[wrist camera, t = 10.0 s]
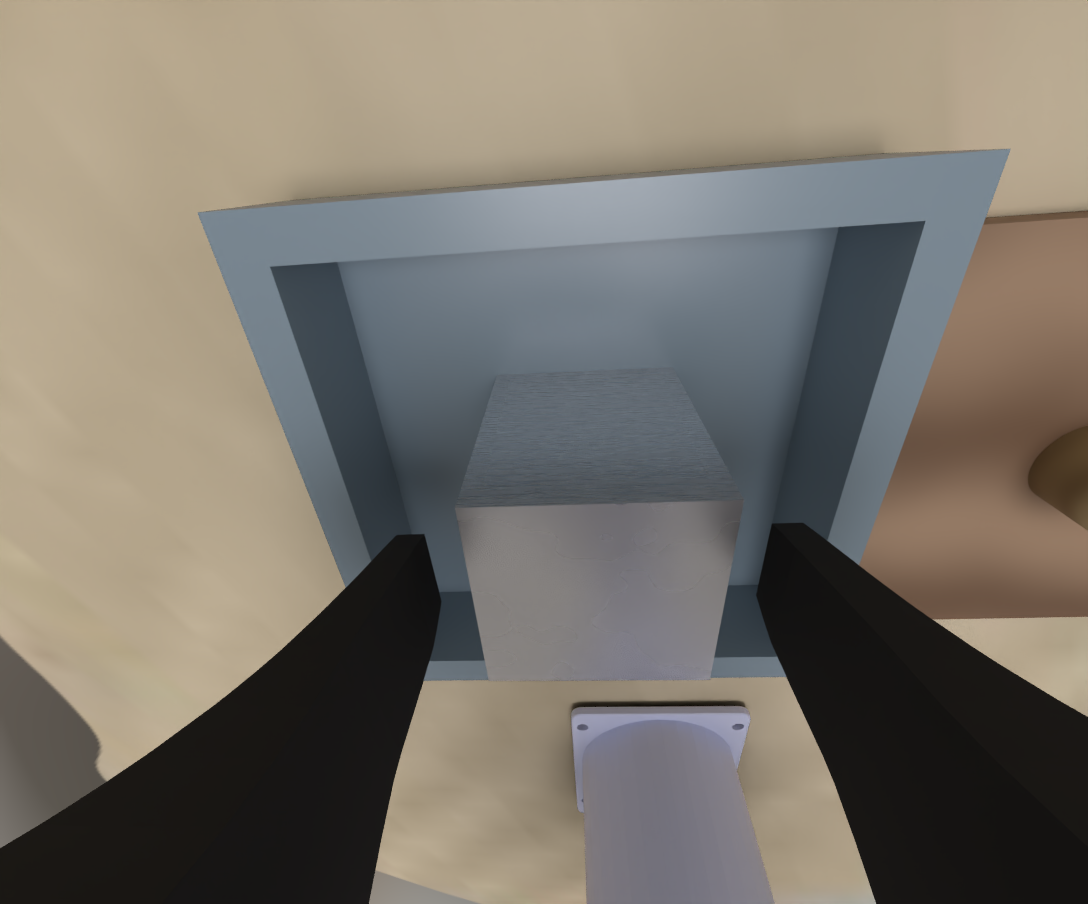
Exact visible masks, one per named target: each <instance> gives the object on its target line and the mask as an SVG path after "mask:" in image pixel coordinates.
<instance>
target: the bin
mask: <svg viewBox="0 0 1088 904" xmlns="http://www.w3.org/2000/svg"><path fill="white" fill-rule="evenodd" d="M1009 152H1010V149H992V150H964V151H935V152H907V153H883V154H870V155H858V156H845V157H833V158H820V159H807V160H795V161H782V162H769V163H757V164H744V165H731V166H719V167H706V168H693V169H681V170H668V171H656V172H643V173H630V174H618V175H605V176H592V177H580V178H567V179H554V180H542V181H529V182H517V183H504V184H491V185H479V186H466V187H453V188H441V189H428V190H415V191H403V192H390V193H378V194H365V195H352V196H340V197H327V198H314V199H302V200H290V201H282V202H275V203H267V204H259V205H252V206H244V207H237V208H229V209H221V210H214V211H206V212H198V215H199V218H200V220H201V223H202V225H203V228H204V230H205V233H206V235H207V238H208V240H209V243H210V245H211V248H212V251H213V253H214V256H215V258H216V261H217V263H218V266H219V268H220V271H221V273H222V276H223V278H224V281H225V283H226V286H227V288H228V291H229V293H230V296H231V299H232V301H233V304H234V306H235V309H236V311H237V314H238V316H239V319H240V321H241V324H242V326H243V329H244V331H245V334H246V336H247V339H248V341H249V344H250V347H251V349H252V352H253V354H254V357H255V359H256V362H257V364H258V367H259V369H260V372H261V374H262V377H263V379H264V382H265V384H266V387H267V390H268V392H269V395H270V397H271V400H272V402H273V405H274V407H275V410H276V412H277V415H278V417H279V420H280V422H281V425H282V427H283V430H284V432H285V435H286V438H287V440H288V443H289V445H290V448H291V450H292V453H293V455H294V458H295V460H296V463H297V465H298V468H299V470H300V473H301V475H302V478H303V480H304V483H305V486H306V488H307V491H308V493H309V496H310V498H311V501H312V503H313V506H314V508H315V511H316V513H317V516H318V518H319V521H320V523H321V526H322V528H323V531H324V534H325V536H326V539H327V541H328V544H329V546H330V549H331V551H332V554H333V556H334V559H335V561H336V564H337V566H338V569H339V571H340V574H341V577H342V579H343V582H344V584H345V587H347V586H348V585H349V584H350V583H351V582H352V581H353V580H354V579H355V578H356V577H357V576H358V575H359V574H360V572H361V571H362V570H363V569H364V568H365V567H366V566H367V565H368V564H369V563H370V562H371V561H372V560H373V559H374V558H375V557H376V556H377V555H378V554H379V553H380V551H381V550H382V549H383V548H384V547H385V546H386V545H387V544H388V543H389V542H390V541H391V540H392V539H393V538H394V537H395V536H396V535H407V534H425V538H426V542H427V546H428V550H429V554H430V558H431V562H432V566H433V569H434V573H435V577H436V581H437V585H438V589H439V593H440V597H441V601H442V602H441V608H440V614H439V620H438V626H437V632H436V637H435V642H434V647H433V651H432V654H431V658H430V661H429V664H428V668H427V671H426V674H425V677H424V681H431V680H489V679H488V674H487V669H486V664H485V659H484V654H483V649H482V644H481V639H480V633H479V628H478V623H477V618H476V613H475V608H474V603H473V598H472V593H471V587H470V582H469V577H468V572H467V567H466V562H465V557H464V552H463V547H462V541H461V536H460V531H459V526H458V521H457V516H456V511H455V506H456V503H457V500H458V497H459V494H460V491H461V487H462V484H463V481H464V478H465V475H466V472H467V468H468V465H469V462H470V459H471V456H472V453H473V449H474V446H475V443H476V440H477V437H478V434H479V430H480V427H481V424H482V421H483V418H484V415H485V411H486V408H487V405H488V402H489V399H490V396H491V393H492V389H493V386H494V383H495V380H496V377H497V375H507V374H529V373H552V372H575V371H597V370H620V369H643V368H665V367H673V369H674V371H675V373H676V374H677V376H678V378H679V380H680V382H681V384H682V386H683V387H684V389H685V391H686V393H687V395H688V397H689V399H690V400H691V402H692V404H693V406H694V408H695V410H696V412H697V413H698V415H699V417H700V419H701V421H702V423H703V425H704V426H705V428H706V430H707V432H708V434H709V436H710V438H711V439H712V441H713V443H714V445H715V447H716V449H717V451H718V452H719V454H720V456H721V458H722V460H723V462H724V464H725V466H726V467H727V469H728V471H729V473H730V475H731V477H732V479H733V480H734V482H735V484H736V486H737V488H738V490H739V492H740V493H741V495H742V497H743V499H744V504H743V509H742V514H741V519H740V525H739V530H738V535H737V540H736V546H735V551H734V556H733V561H732V566H731V572H730V577H729V582H728V587H727V593H726V598H725V603H724V608H723V614H722V619H721V624H720V629H719V634H718V640H717V645H716V650H715V655H714V661H713V666H712V671H711V676H710V678H725V677H786V675H785V673H784V670H783V668H782V666H781V664H780V662H779V659H778V657H777V655H776V653H775V650H774V648H773V646H772V644H771V641H770V638H769V635H768V632H767V629H766V626H765V623H764V620H763V617H762V613H761V610H760V607H759V603H758V600H757V597H756V593H757V588H758V584H759V579H760V575H761V570H762V566H763V561H764V557H765V552H766V547H767V543H768V538H769V534H770V529H771V525H772V523H804V524H806V525H807V526H808V527H810V528H811V529H813V530H814V531H815V532H817V533H818V534H819V535H821V536H822V537H823V538H824V539H826V540H827V541H828V542H830V543H831V544H832V545H833V546H835V547H836V548H837V549H839V550H840V551H841V552H842V553H844V554H845V555H846V556H848V557H849V558H850V559H852V560H853V561H854V562H855V563H857V564H858V565H859V564H860V561H861V558H862V556H863V553H864V550H865V548H866V545H867V542H868V539H869V537H870V534H871V531H872V528H873V526H874V523H875V520H876V517H877V515H878V512H879V509H880V506H881V504H882V501H883V498H884V495H885V493H886V490H887V487H888V484H889V482H890V479H891V476H892V473H893V471H894V468H895V465H896V462H897V460H898V457H899V454H900V451H901V449H902V446H903V443H904V440H905V438H906V435H907V432H908V429H909V427H910V424H911V421H912V418H913V416H914V413H915V410H916V407H917V405H918V402H919V399H920V396H921V394H922V391H923V388H924V386H925V383H926V380H927V377H928V375H929V372H930V369H931V366H932V364H933V361H934V358H935V355H936V353H937V350H938V347H939V344H940V342H941V339H942V336H943V333H944V331H945V328H946V325H947V322H948V320H949V317H950V314H951V311H952V309H953V306H954V303H955V300H956V298H957V295H958V292H959V289H960V287H961V284H962V281H963V278H964V276H965V273H966V270H967V267H968V265H969V262H970V259H971V256H972V254H973V251H974V248H975V245H976V243H977V240H978V237H979V234H980V232H981V229H982V226H983V224H984V221H985V218H986V215H987V213H988V210H989V207H990V204H991V202H992V199H993V196H994V193H995V191H996V188H997V185H998V182H999V180H1000V177H1001V174H1002V171H1003V169H1004V166H1005V163H1006V160H1007V158H1008V155H1009Z"/></svg>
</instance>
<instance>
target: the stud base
mask: <svg viewBox="0 0 1088 904" xmlns="http://www.w3.org/2000/svg"><path fill="white" fill-rule="evenodd" d="M859 566H861V567H862V568H863V569H864V570H866V571H867V572H868V573H870V574H871V575H872V576H874V577H875V578H876V579H878V580H879V581H880V582H882V583H883V584H884V585H886V586H887V587H888V588H890V589H891V590H892V591H894V592H895V593H896V594H898V595H899V596H900V597H902V598H903V599H904V600H906V601H907V602H909V603H910V604H911V605H913V606H914V607H915V608H917V609H918V610H920V611H921V612H922V613H924V614H925V615H927V616H928V617H929V618H931V619H980V618H1037V617H1088V211H1077V212H1063V213H1048V214H1034V215H1020V216H1005V217H991V218H985V221H984V224H983V226H982V229H981V232H980V234H979V237H978V240H977V243H976V245H975V248H974V251H973V254H972V256H971V259H970V262H969V265H968V267H967V270H966V273H965V276H964V278H963V281H962V284H961V287H960V289H959V292H958V295H957V298H956V300H955V303H954V306H953V309H952V311H951V314H950V317H949V320H948V322H947V325H946V328H945V331H944V333H943V336H942V339H941V342H940V344H939V347H938V350H937V353H936V355H935V358H934V361H933V364H932V366H931V369H930V372H929V375H928V377H927V380H926V383H925V386H924V388H923V391H922V394H921V396H920V399H919V402H918V405H917V407H916V410H915V413H914V416H913V418H912V421H911V424H910V427H909V429H908V432H907V435H906V438H905V440H904V443H903V446H902V449H901V451H900V454H899V457H898V460H897V462H896V465H895V468H894V471H893V473H892V476H891V479H890V482H889V484H888V487H887V490H886V493H885V495H884V498H883V501H882V504H881V506H880V509H879V512H878V515H877V517H876V520H875V523H874V526H873V528H872V531H871V534H870V537H869V539H868V542H867V545H866V548H865V550H864V553H863V556H862V558H861V561H860V564H859Z"/></svg>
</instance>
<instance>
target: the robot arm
mask: <svg viewBox="0 0 1088 904" xmlns="http://www.w3.org/2000/svg"><path fill="white" fill-rule="evenodd" d="M756 597H757V600H758V603H759V607H760V610H761V613H762V617H763V620H764V623H765V626H766V629H767V632H768V635H769V638H770V641H771V644H772V646H773V648H774V650H775V653H776V655H777V657H778V659H779V662H780V664H781V666H782V668H783V670H784V673H785V675H786V677H787V679H788V681H789V683H790V686H791V688H792V690H793V692H794V694H795V696H796V699H797V701H798V703H799V705H800V707H801V709H802V712H803V714H804V716H805V718H806V720H807V722H808V725H809V727H810V729H811V731H812V733H813V735H814V737H815V740H816V742H817V744H818V746H819V748H820V750H821V753H822V755H823V757H824V759H825V762H826V764H827V767H828V769H829V771H830V774H831V776H832V779H833V781H834V783H835V786H836V789H837V792H838V794H839V797H840V800H841V803H842V806H843V808H844V811H845V814H846V817H847V820H848V822H849V825H850V828H851V831H852V833H853V836H854V839H855V842H856V845H857V848H858V851H859V854H860V857H861V860H862V862H863V865H864V868H865V871H866V874H867V877H868V880H869V883H870V886H871V889H872V892H873V895H874V898H875V901H876V904H1088V717H1087V716H1085V715H1083V714H1082V713H1080V712H1078V711H1076V710H1075V709H1073V708H1071V707H1069V706H1068V705H1066V704H1064V703H1062V702H1061V701H1059V700H1057V699H1056V698H1054V697H1052V696H1050V695H1049V694H1047V693H1046V692H1044V691H1042V690H1041V689H1039V688H1037V687H1036V686H1034V685H1032V684H1031V683H1029V682H1028V681H1026V680H1024V679H1023V678H1021V677H1019V676H1018V675H1016V674H1014V673H1013V672H1011V671H1010V670H1008V669H1006V668H1005V667H1003V666H1001V665H1000V664H998V663H997V662H995V661H993V660H992V659H990V658H989V657H987V656H986V655H984V654H983V653H981V652H979V651H978V650H976V649H975V648H973V647H972V646H970V645H969V644H967V643H966V642H965V641H963V640H962V639H960V638H959V637H957V636H956V635H954V634H953V633H951V632H950V631H948V630H947V629H945V628H944V627H943V626H941V625H940V624H938V623H937V622H935V621H934V620H932V619H931V618H929V617H928V616H927V615H925V614H924V613H922V612H921V611H920V610H918V609H917V608H915V607H914V606H913V605H911V604H910V603H909V602H907V601H906V600H904V599H903V598H902V597H900V596H899V595H898V594H896V593H895V592H894V591H892V590H891V589H890V588H888V587H887V586H886V585H884V584H883V583H882V582H880V581H879V580H878V579H876V578H875V577H874V576H872V575H871V574H870V573H868V572H867V571H866V570H864V569H863V568H862V567H861V566H859V565H858V564H857V563H855V562H854V561H853V560H852V559H850V558H849V557H848V556H846V555H845V554H844V553H842V552H841V551H840V550H839V549H837V548H836V547H835V546H833V545H832V544H831V543H830V542H828V541H827V540H826V539H824V538H823V537H822V536H821V535H819V534H818V533H817V532H815V531H814V530H813V529H811V528H810V527H808V526H807V525H806V524H804V523H772V525H771V529H770V534H769V538H768V543H767V547H766V552H765V557H764V561H763V566H762V570H761V575H760V579H759V584H758V588H757V593H756ZM441 602H442V601H441V597H440V593H439V589H438V585H437V581H436V577H435V573H434V569H433V566H432V562H431V558H430V554H429V550H428V546H427V542H426V538H425V534H407V535H396V536H395V537H394V538H393V539H392V540H391V541H390V542H389V543H388V544H387V545H386V546H385V547H384V548H383V549H382V550H381V551H380V553H379V554H378V555H377V556H376V557H375V558H374V559H373V560H372V561H371V562H370V563H369V564H368V565H367V566H366V567H365V568H364V569H363V570H362V571H361V572H360V574H359V575H358V576H357V577H356V578H355V579H354V580H353V581H352V582H351V583H350V584H349V585H348V586H347V587H346V588H345V589H344V590H343V591H342V592H341V593H340V594H339V595H338V596H337V597H336V598H335V599H334V600H333V601H332V602H331V603H330V604H329V605H328V606H327V607H326V608H325V609H324V610H323V611H322V612H321V613H320V614H319V615H318V616H317V617H316V618H315V619H314V620H313V621H312V622H311V623H309V624H308V625H307V626H306V627H305V628H304V629H303V630H302V631H301V632H300V633H299V634H298V635H297V636H296V637H295V638H293V639H292V640H291V641H290V642H289V643H288V644H287V645H286V646H285V647H284V648H283V649H282V650H281V651H279V652H278V653H277V654H276V655H275V656H274V657H273V658H271V659H270V660H269V661H268V662H267V663H266V664H265V665H263V666H262V667H261V668H260V669H259V670H257V671H256V672H255V673H254V674H253V675H251V676H250V677H249V678H248V679H247V680H245V681H244V682H243V683H242V684H240V685H239V686H238V687H237V688H235V689H234V690H233V691H232V692H231V693H229V694H228V695H227V696H226V697H224V698H223V699H222V700H220V701H219V702H218V703H217V704H215V705H214V706H213V707H211V708H210V709H209V710H207V711H206V712H205V713H203V714H202V715H200V716H199V717H198V718H196V719H195V720H194V721H192V722H191V723H190V724H188V725H187V726H185V727H184V728H183V729H181V730H180V731H179V732H177V733H176V734H175V735H173V736H172V737H170V738H169V739H168V740H166V741H165V742H164V743H162V744H161V745H160V746H158V747H157V748H155V749H154V750H153V751H151V752H150V753H148V754H147V755H146V756H144V757H143V758H141V759H140V760H138V761H137V762H135V763H134V764H132V765H131V766H129V767H128V768H126V769H125V770H123V771H122V772H121V773H119V774H118V775H116V776H115V777H113V778H112V779H110V780H109V781H107V782H106V783H104V784H103V785H101V786H100V787H98V788H96V789H95V790H93V791H92V792H90V793H89V794H87V795H86V796H84V797H83V798H81V799H80V800H78V801H76V802H75V803H73V804H72V805H70V806H69V807H67V808H66V809H64V810H62V811H61V812H59V813H58V814H56V815H55V816H53V817H51V818H50V819H48V820H46V821H45V822H43V823H42V824H40V825H38V826H37V827H35V828H33V829H32V830H30V831H29V832H27V833H25V834H23V835H22V836H20V837H18V838H17V839H15V840H13V841H12V842H10V843H8V844H7V845H5V846H3V847H2V848H0V904H369V899H370V894H371V889H372V884H373V878H374V874H375V869H376V863H377V858H378V853H379V848H380V843H381V838H382V833H383V829H384V824H385V819H386V814H387V810H388V805H389V800H390V796H391V791H392V786H393V782H394V778H395V774H396V770H397V767H398V763H399V759H400V755H401V752H402V749H403V746H404V742H405V739H406V736H407V733H408V729H409V726H410V723H411V720H412V717H413V713H414V710H415V707H416V704H417V700H418V697H419V694H420V691H421V687H422V684H423V681H424V677H425V674H426V671H427V668H428V664H429V661H430V658H431V654H432V651H433V647H434V642H435V637H436V632H437V626H438V620H439V614H440V608H441ZM750 720H751V718H750V714H749V711H748V710H747V709H746V708H744V707H742V706H663V707H578V708H575V709H574V710H573V711H572V713H571V723H572V738H573V752H574V766H575V780H576V794H577V808H578V810H579V811H580V812H582V813H584V833H585V865H586V898H587V904H775V902H774V899H773V895H772V892H771V888H770V885H769V881H768V878H767V875H766V871H765V868H764V864H763V861H762V857H761V854H760V850H759V847H758V843H757V840H756V836H755V833H754V829H753V826H752V822H751V819H750V815H749V812H748V808H747V805H746V801H745V798H744V794H743V791H742V787H741V784H740V780H739V777H738V773H737V769H738V765H739V761H740V758H741V754H742V750H743V746H744V743H745V739H746V735H747V731H748V727H749V724H750Z"/></svg>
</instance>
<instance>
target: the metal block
mask: <svg viewBox="0 0 1088 904" xmlns="http://www.w3.org/2000/svg"><path fill="white" fill-rule="evenodd" d="M743 504H744V499H743V497H742V495H741V493H740V492H739V490H738V488H737V486H736V484H735V482H734V480H733V479H732V477H731V475H730V473H729V471H728V469H727V467H726V466H725V464H724V462H723V460H722V458H721V456H720V454H719V452H718V451H717V449H716V447H715V445H714V443H713V441H712V439H711V438H710V436H709V434H708V432H707V430H706V428H705V426H704V425H703V423H702V421H701V419H700V417H699V415H698V413H697V412H696V410H695V408H694V406H693V404H692V402H691V400H690V399H689V397H688V395H687V393H686V391H685V389H684V387H683V386H682V384H681V382H680V380H679V378H678V376H677V374H676V373H675V371H674V369H673V367H665V368H643V369H620V370H597V371H575V372H552V373H529V374H507V375H497V377H496V380H495V383H494V386H493V389H492V393H491V396H490V399H489V402H488V405H487V408H486V411H485V415H484V418H483V421H482V424H481V427H480V430H479V434H478V437H477V440H476V443H475V446H474V449H473V453H472V456H471V459H470V462H469V465H468V468H467V472H466V475H465V478H464V481H463V484H462V487H461V491H460V494H459V497H458V500H457V503H456V506H455V511H456V516H457V521H458V526H459V531H460V536H461V541H462V547H463V552H464V557H465V562H466V567H467V572H468V577H469V582H470V587H471V593H472V598H473V603H474V608H475V613H476V618H477V623H478V628H479V633H480V639H481V644H482V649H483V654H484V659H485V664H486V669H487V674H488V679H489V681H569V680H710V676H711V671H712V666H713V661H714V655H715V650H716V645H717V640H718V634H719V629H720V624H721V619H722V614H723V608H724V603H725V598H726V593H727V587H728V582H729V577H730V572H731V566H732V561H733V556H734V551H735V546H736V540H737V535H738V530H739V525H740V519H741V514H742V509H743Z"/></svg>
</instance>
